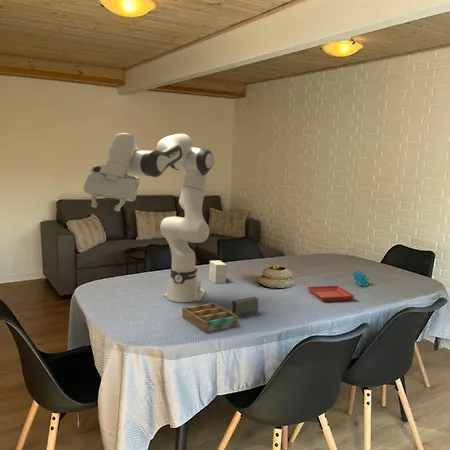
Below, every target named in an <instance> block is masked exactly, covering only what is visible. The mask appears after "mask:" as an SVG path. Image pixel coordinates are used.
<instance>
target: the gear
mask: <svg viewBox="0 0 450 450" xmlns="http://www.w3.org/2000/svg"><path fill="white" fill-rule="evenodd" d="M352 276H353V281H355V282H354V284H358V286H360V287H361V286H362V287H363V288H365V287H367V286H368V285H369V283H370V281H369V280H370V277H367V275H366V274H364V272H363V271H360V270H357V271H354V272H353V274H352Z"/></svg>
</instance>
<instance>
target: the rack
mask: <svg viewBox="0 0 450 450" xmlns="http://www.w3.org/2000/svg"><path fill="white" fill-rule="evenodd" d="M181 315H182V316H181V317H182V318H183V319H184V320H186V321H187V322H188V323H190V324H192V325H194V326H195V327H196V329H197V328H198V329H199V330H201V331H202V332H204V333H210V332H214V331H218V330H223V329H229V328H233V327H238V326H239V318H240V317H239V316H237V315H236V314H234V313H232V311H230V310H228V309H226V308H224V307H223V306H221V305H220V304H217V303H215V302H211V303H206V304H205V303H204V304H199V305H191V306H188V307H187V306H186V307H182V311H181Z"/></svg>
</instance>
